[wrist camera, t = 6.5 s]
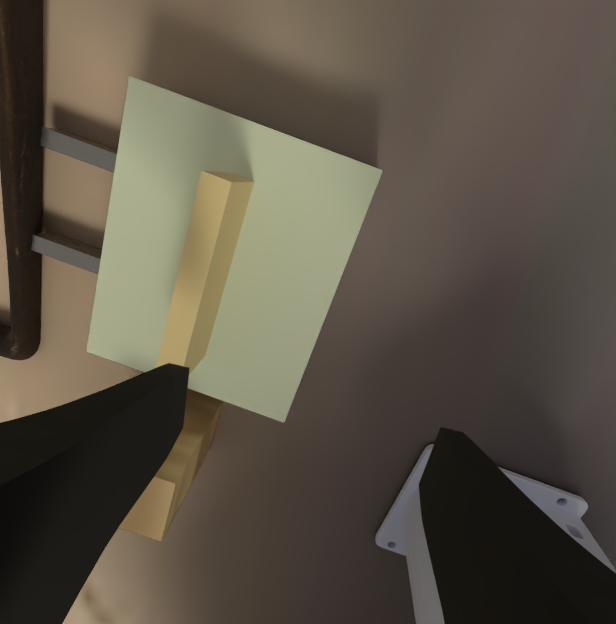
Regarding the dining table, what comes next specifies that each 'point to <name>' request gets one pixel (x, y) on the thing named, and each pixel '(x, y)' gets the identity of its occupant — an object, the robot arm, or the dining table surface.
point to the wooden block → (176, 469)
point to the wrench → (21, 168)
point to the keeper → (57, 243)
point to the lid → (222, 248)
